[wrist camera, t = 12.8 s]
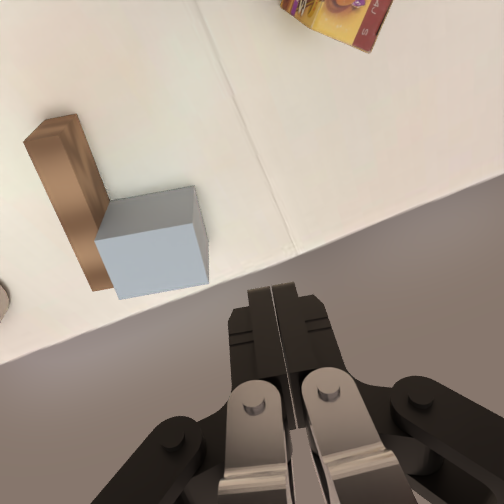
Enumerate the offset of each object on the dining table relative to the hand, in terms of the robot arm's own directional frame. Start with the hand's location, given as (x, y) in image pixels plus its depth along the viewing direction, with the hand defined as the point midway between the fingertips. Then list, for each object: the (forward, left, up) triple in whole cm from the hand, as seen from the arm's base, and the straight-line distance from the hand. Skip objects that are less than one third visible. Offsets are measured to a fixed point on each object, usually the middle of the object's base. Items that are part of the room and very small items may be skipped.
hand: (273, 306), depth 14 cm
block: (+13, -10, -32) cm, 36 cm away
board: (+9, -16, -32) cm, 37 cm away
